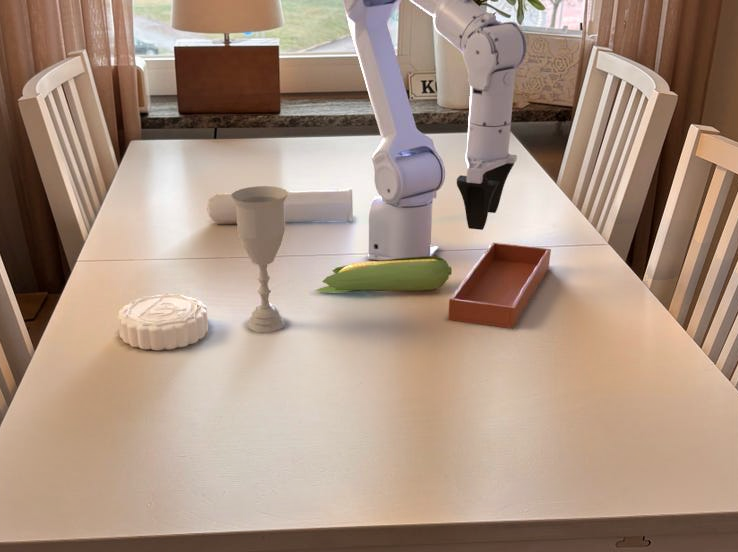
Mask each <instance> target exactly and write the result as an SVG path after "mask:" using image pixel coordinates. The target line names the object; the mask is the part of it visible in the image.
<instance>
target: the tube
mask: <svg viewBox="0 0 738 552" xmlns="http://www.w3.org/2000/svg"><path fill="white" fill-rule="evenodd" d="M286 191H287V192H288V194H287V196H286V199H285V201H284V215H285V223H307V222H308V223H311V222H344V221H345V222H349V223H353V220H354V219H353V216H354V215H353V214H354V210H353V209H354V208H353V207H354V206H353V205H354V204H353V203H354V202H353V189H352V187H349V188H347V189H327V190H293V191H291V190H290V191H289V190H286ZM232 193H233V192H219V193H214V195H212V196H211V197H210V198H209V199H208V200H207V206H206V210H207V211H206V212H207V214H208V216H209V218H210V220H211V221H212V222H213V223H214V224H217V225H235V224H236V225H237V212H236V203H235V202H234V200H233V198H232V197H231V196H232Z"/></svg>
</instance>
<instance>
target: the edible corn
mask: <svg viewBox="0 0 738 552" xmlns="http://www.w3.org/2000/svg"><path fill="white" fill-rule="evenodd" d="M331 271H332V272H333V274H331V275H328V276H326V277H325V278H324V279H323V280H322V281H321V283H323V284H326V285H327V286H323V287H320V288H317V289H315V290H314V291H315V292H320V293H330V294H331V293H332V294H342V293H343V294H344V293H353V292H355V293H356V292H422V291H423V292H424V291H426V292H427V291H435V290H437V289H438V288H441V286H443V285H444V284H445V283H446V282H447V281H448V280H449V278H450V276H451V275H452V272H453V271H452V266H449V263H448V262H447V260H445V259H444V258H443V257H440V256H434V255H433V256H421V257H408V258H399V259H390V260H382V261H380V260H373V261H362V262H355V263H351V264H348V265H343V266H338V267H336V268H335V267H334V269H332V270H331Z"/></svg>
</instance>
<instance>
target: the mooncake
mask: <svg viewBox="0 0 738 552" xmlns="http://www.w3.org/2000/svg"><path fill="white" fill-rule="evenodd" d="M117 326H118V333H119V337H120V338H121V339H122V341H123V343H124V344H128V345H129V346H130V347H132V348H139V349H141V350H145V351H146V350H147V351H148V350H152V351H163V350H167V351H170V350H171V351H172V350H174V349H176V348H185V347H187V346H188V345H192V344H196V343H197V342H198V341H199V340H202V339H203V338H205V336H206V334H207V333H208V332H209V322H208V310H207V306H206V305H205V304H203V302H202V301H201V300H197V299H196V298H194V297H191V296H189V297H188V296H185V295H183V294H180V293H177V294H171V293H163V294H156V295H152V296H141V297H140V298H138V299H136V300H131V301H130V302H129V304H125V305H123V306H122V307H121V309H120V310H119V311H118V312H117Z"/></svg>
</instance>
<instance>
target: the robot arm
mask: <svg viewBox="0 0 738 552" xmlns="http://www.w3.org/2000/svg"><path fill="white" fill-rule="evenodd" d="M341 1H342V5H343V8H344V11H345V15H346V18H347V22H348V27H349V30H350V34H351V38H352V40H353V45H354V47H355V51H356V55H357V57H358V61H359V65H360V68H361V72H362V75H363V76H362V77H363V79H364V82H365V87H366V89H367V92H368V93H367V94H368V97H369V100H370V103H371V107H372V110H373V113H374V117H375V120H376V125H377V127H378V131H379V134H380V138H381V142H380V144H379V146H378V147H377V148H376V150H375V152H374V153H373V154H372V157H371V161H372V164H373V170H374V187H375V190H376V191H377V194H378V195H379V196H375V197H374V198H373V200H372V202H371V204H370V208H369V214H368V254H367V256H366V258H367V260H371V261H382V260H390V259H399V258H408V257H421V256H434V255H435V254H436V253H438V251H439V246H436V245H432V244H431V243H432V224H433V200H434V199H437V191H439V190H440V189H441V188H442V187H443V186H444V183H445V178H446V169H445V168H446V167H445V164H444V161H443V159H442V157H441V156H440V154H439V153H438V151H437V149H436V147H435V144H434V140H433V139H432V138H431V137H430V136H428V135H426V134H425V133H423V132H421V131H420V130H419V129H418V128H417V125H416V121H415V118H414V115H413V111H412V107H411V104H410V101H409V97H408V93H407V89H406V86H405V81H404V79H403V75H402V72H401V69H400V65H399V62H398V57H397V53H396V51H395V47H394V44H393V40H392V37H391V33H390V30H389V26H388V22H389V19H390V17H391V15H392V14H393V13H395V11H396V10H397V8H398V7H399V6H400V3H401V2H402V0H341ZM409 1H410V2H411V3H413V4H415V5H416V6H417V7H419V8H420V9H422V10H423V11H424V12H426V13H427V14H428V15H430V16H432V17H433V27H434V29H435V31H436V32H437V33H438V34H439V35H440V36H442V37H443V38H444V39H445V40H446V41H447V42H449V43H450V44H451V45H452V46H454V48H456V49H457V51H459V52H460V53H462V58H463V62H464V64H465V67H466V69H467V83H468V86H469V88H470V92H469V93H470V94H469V95H470V96H469V110H468V124H467V125H468V127H467V139H466V140H467V141H466V152H465V154H464V161H465V164H466V167H467V168H466V175H461V174H460V175H459V176H458V177H457V178H456V186H457V188H458V190H459V192H460V194H461V195H460V196H461V197H462V201H463V205H464V209H465V210H464V211H465V216H466V223H467V227H468V229H470V230H480V231H483V230H484V228H485V226H486V224H487V220H488V216H489V214H496V213H497V210H498V208H499V205H500V202H501V197H502V194H503V191H504V188H505V187H504V186H505V184H506V182H507V178H508V176H509V174H510V173H511V170H512V169H513V167H514V166H515V163H516V162H517V159H518V155H516V154H510V138H511V128H512V127H511V126H512V114H513V113H512V112H513V102H514V92H515V80H516V69H518V68H519V67H520V66H521V65H522V64H523V62H524V61H525V59H526V56H527V50H528V42H527V38H526V35H525V33H524V31H523V29H522V28H521V27H520V26H519V25H518V23H517V22H515V21H506V22H505V21H504V22H501V21H500V20H499V21H498V19H497V16H496V15H494V14H493V13H492V12H487V11H486V10H485V9H483V8H482V7H481V6H480V5H479V4H477V3H476V2H475V1H473V0H409ZM402 155H408V156H403V157H399V158H396V157H397V156H402Z"/></svg>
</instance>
